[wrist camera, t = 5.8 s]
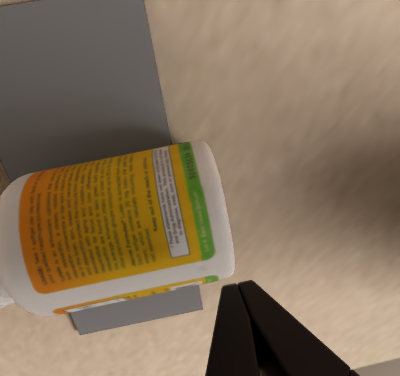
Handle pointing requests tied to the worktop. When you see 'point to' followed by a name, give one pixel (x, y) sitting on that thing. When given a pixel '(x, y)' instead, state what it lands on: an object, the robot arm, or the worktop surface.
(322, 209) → the worktop surface
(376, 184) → the worktop surface
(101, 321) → the mat
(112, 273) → the supplement bottle
